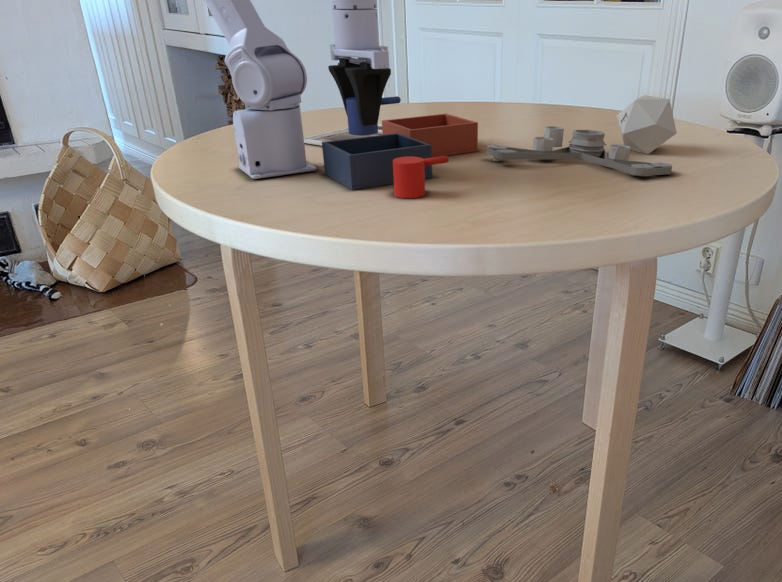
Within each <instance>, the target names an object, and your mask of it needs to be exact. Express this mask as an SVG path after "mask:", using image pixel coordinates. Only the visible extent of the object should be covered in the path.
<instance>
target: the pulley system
mask: <svg viewBox="0 0 782 582" xmlns="http://www.w3.org/2000/svg"><path fill="white" fill-rule="evenodd" d="M564 129H565V128H564V127H562V126H554V125H553V126H552V125H547V126H545V127H544V135H543V136H536V137H533V145H532V149H528V148H517V147H510V146H506V145H503V144H502V145H501V144H487V153H486V155H490V156H492V157H493V159H492V161H494V162H501V161H523V160H525V161H526V160H527V161H528V160H529V161H530V160H531V161H532V160H533V161H534V160H535V161H536V160H537V161H538V160H582V161H586V162H590V163H594V164H597V165H601V166H603V167H607V168H610V169H614V170H618V171H621V172H624V173H628V174H631V176H638V177H651V176H661V175H671V174H672V170H673V165H672V163H667V162H662V161H660V162H658V161H657V162H647V161H638V160H637V161H636V160H629V155H630V152H631V150H630V147H629V146H625V145H623V144H610V145H609V148H608V149H609V150H608V154H607V152H606V149H605V147H606V146H607V144H606V142H605V140H604V138H605V135H606V133H605V132H603V131H600V130H592V129H573V130H572V138H571V139H570V140H569V141H568V143H569V144H568V145H569V146H566V147H563V141H564V131H565V130H564ZM561 147H562V148H561ZM553 148H557V149H553ZM602 157H603V158H602Z"/></svg>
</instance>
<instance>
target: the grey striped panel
mask: <svg viewBox="0 0 782 582" xmlns="http://www.w3.org/2000/svg"><path fill="white" fill-rule="evenodd" d="M378 135H383V132H382V123H378V133H376V134H373V135H363V136H359V135H351V134H349V129H348V127H345V128H341V129H337V130H332V131H329V132H328V131H327V132H323V133H319V134H315V135H310V136H307V137H304V144H307V145H315V146H321V147H322V142H327V141H336V140H344V139H352V138H361V137H369V136H378Z"/></svg>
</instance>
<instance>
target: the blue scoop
mask: <svg viewBox="0 0 782 582" xmlns="http://www.w3.org/2000/svg"><path fill="white" fill-rule="evenodd" d="M401 100H402V98H401V97H400V96H397V95H396V96H387V97H385V96H384V97H382V100H381V106H386V105H395V104H397V105H398V104H400V103H401V102H402V101H401ZM346 105H347V114H346V117H347V126H348V127H347V128H348V129H349V134H351V135H359V136H363V135H373V134H376V133H378V124H379V122H378V123H377V124H376V125H367V126H363V125H362V124H361V122H360V118H359V113H358V108H357V102H356V97H350V98H347V99H346Z"/></svg>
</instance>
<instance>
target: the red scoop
mask: <svg viewBox="0 0 782 582" xmlns="http://www.w3.org/2000/svg"><path fill="white" fill-rule="evenodd" d="M449 161H450V159H449V156H448V155H447V156H440V157H432V158H426V159H423V158H420V157H412V156H408V157H399V158H395V159H394V160H393V176H394V184H393V193H394V196H395V197H397V198H400V199H416V198H417V199H418V198H421V197H424V196H425V195H426V179H425V170H424V166H428V165H432V166H436V165H443V164H447V163H449Z"/></svg>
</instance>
